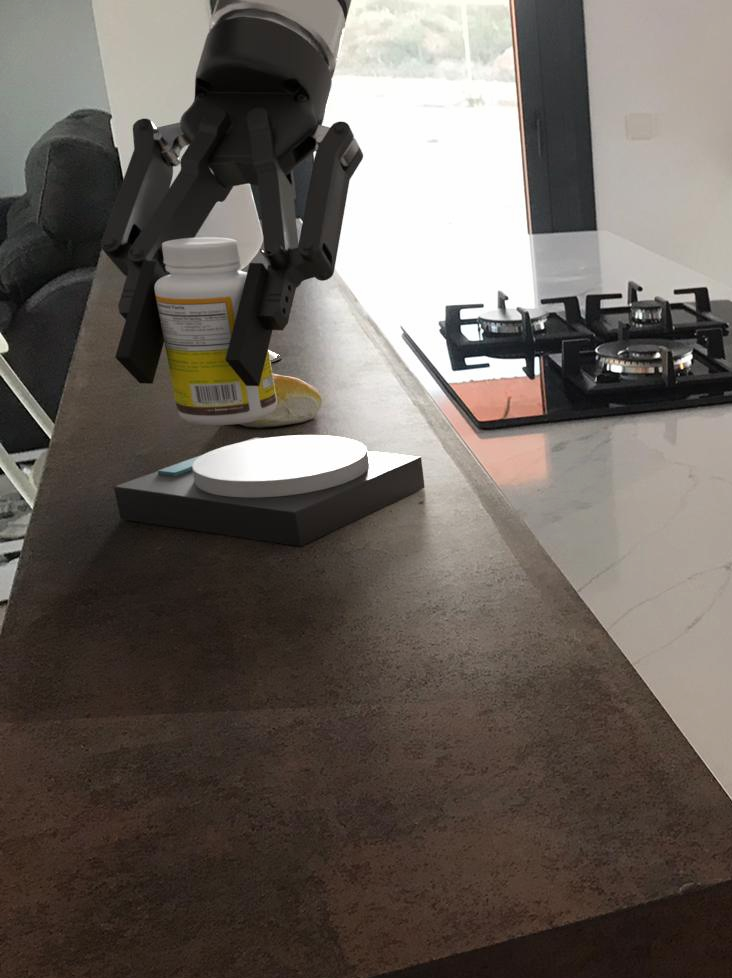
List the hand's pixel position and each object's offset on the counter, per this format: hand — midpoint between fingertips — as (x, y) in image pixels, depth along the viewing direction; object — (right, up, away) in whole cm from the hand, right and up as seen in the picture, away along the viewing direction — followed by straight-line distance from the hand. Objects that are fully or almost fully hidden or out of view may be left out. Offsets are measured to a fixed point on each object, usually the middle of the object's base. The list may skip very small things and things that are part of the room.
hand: (188, 371), depth 72 cm
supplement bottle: (0, -2, +5) cm, 5 cm away
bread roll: (-14, +4, +46) cm, 48 cm away
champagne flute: (-26, +13, +69) cm, 75 cm away
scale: (-4, -6, +23) cm, 24 cm away
